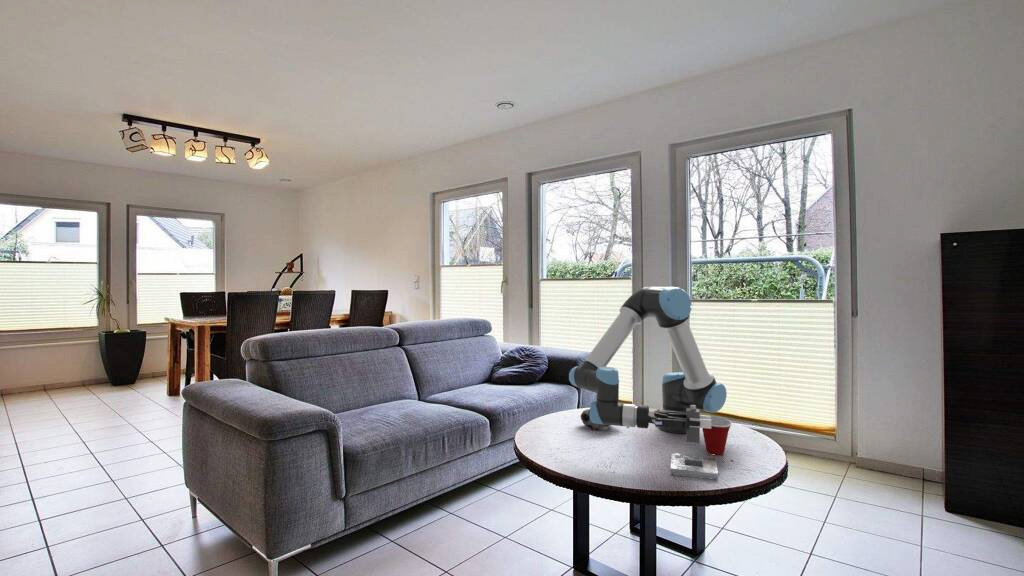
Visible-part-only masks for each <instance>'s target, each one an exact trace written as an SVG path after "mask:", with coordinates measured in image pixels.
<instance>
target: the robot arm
mask: <svg viewBox="0 0 1024 576" xmlns="http://www.w3.org/2000/svg"><path fill="white" fill-rule="evenodd" d="M690 297H691V296H690V295H689V293H688V292H687V291H686V290H684V289H682V288H680V287H677V286H670V285H669V286H652V285H651V286H644V287H642V288H640V289H638V290H636V291H634V292H633V294H632V295H630V296H629V297H628V298H627V300H625V301H624V303H623V304H622V305H621V306H620V307H619V314H618V315H617V316H616V318H615V319H614V320H613V322H612V323H611V325H610V326H609V327H608V328H607V330H606V331H605V332H604V334H603V335H602V337H601V338H600V340H599V341H598V342H597V343H596V345H595V346H594V348H593V349H592V350H591V351H590V353H589V355H587V357H586V358H585V360H584V362H582V364H581V365H579V366H574V367H573V368H571V369H570V370H569V373H568V380H569V382H570V384H571V385H572V386H574V387H576V388H579V389H581V390H582V389H584V390H586V391H589V392H593V393H595V394H596V400H595V401H591V403H590V406H589V409H590V420H591V422H592V423H596V424H603V425H610V426H614V427H615V426H616V427H617V426H619V427H626V429H630V428H636V427H637V428H639V429H648V428H649V425H650V424H653V425H654V426H655V427H656V428H659V430H662V431H664V432H668V433H674V434H686V429H687V430H689V426H690V427H697V428H700V429H702V428H709V429H711V416H712V415H705V414H703V415H702V414H700V419H697V418H690V420H689V419H686V408H690V405H696V409H699V410H700V411H702V412H707V413H713V414H715V413H717V412H719V411H721V410H722V408H723V406H724V405H725V403H726V399H727V389H726V388H727V387H726V386H725V384H723V383H721V382H717V381H716V377H715V376H714V373H712V372H711V371H708V369H707V366H706V364H705V361H704V360H703V359H704V358H703V357H702V354H701V353H700V352H701V351H700V350H699V346H698V344H697V342H696V339H695V337H694V335H693V332H692V329H691V327H690V325H689V322H688V321H689V318H690V314H691V311H692V307H691V306H692V300H691V298H690ZM647 318H655V320H656V322H657V324H658V327H660V328H662V329H664V331H665V333H666V335H667V338H668V340H669V343H670V344H671V347H672V349H673V352H674V354H675V356H676V359H677V361H678V364H679V366H680V369H681V371H678V372H677V371H675V372H668V373H665V374H663V375H662V382H661V385H662V386H661V387H662V389H661V394H662V396H661V397H662V398H661V399H662V409H659V408H658V409H656V410H654V411H650V406H649V405H646V404H645V405H644V404H638V405H636V404H635V403H634V404H633V403H632V404H631V403H620V402H619V401H620V400H619V398H620V396H619V393H620V392H619V391H620V389H619V388H620V385H619V384H620V378H619V377H620V376H619V370H618V368H616V367H611V366H610V367H609V366H608V365H609V363H610V362H611V361H612V359H613V357H614V356H615V355H616V354H617V353H618V351H619V349H620V348H621V347H622V345H623V344H624V342H625V341H626V340H627V338H628V337H629V336H630V334H631V333H632V331H633V330H634V329H635V327H636V326H637V325H641V324H642V322H643V321H644V320H645V319H647Z"/></svg>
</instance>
